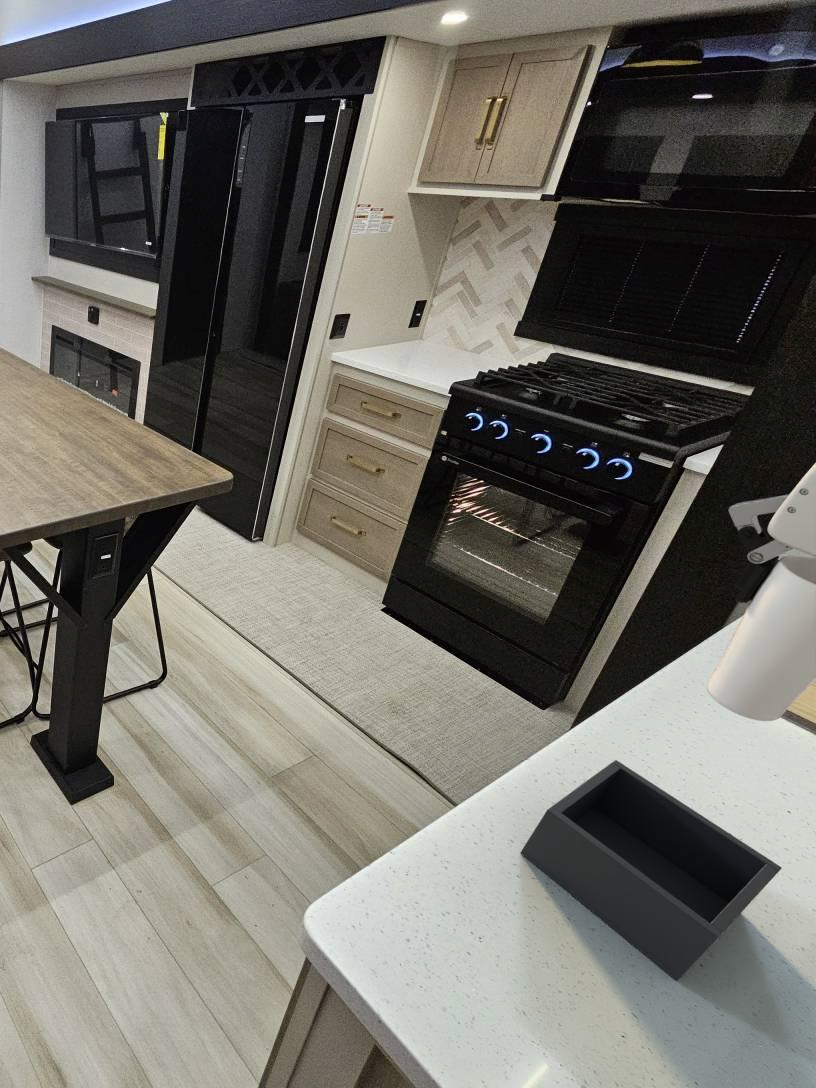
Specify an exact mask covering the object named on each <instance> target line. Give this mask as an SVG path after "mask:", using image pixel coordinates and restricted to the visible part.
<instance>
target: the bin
mask: <svg viewBox="0 0 816 1088" xmlns="http://www.w3.org/2000/svg"><path fill="white" fill-rule="evenodd" d="M520 855H522V856H523V857H524V858H525V859H526V860H528V861H529V862H530V863H531V864H532V865H534V866H535V867H536V868H538V870H540V871H541V872H542V873H543V874H545V875H546V876H547V877H549V879H551V880H552V881H553V882H554V883H556V884H557V885H558V886H560V887H561V888H562V889H563V890H564V891H565V892H566V893H568V894H569V895H570V896H571V897H573V898H574V899H576V900H577V902H579V903H581V905H583V906H584V907H585V908H586V909H587V910H588V911H590V912H591V913H592V914H594V915H595V916H596V917H597V918H598V919H600V920H601V921H602V922H603V923H604V924H606V925H607V926H608V927H609V928H611V929H612V930H613V931H614V932H615V933H617V934H618V935H619V936H621V937H622V938H623V939H624V940H626V941H627V942H628V943H629V944H630V945H631V946H633V947H634V948H635V949H636V950H637V951H639V952H640V953H641V954H642V955H644V957H646V958H647V959H649V960H650V961H651V962H652V963H653V964H655V965H656V966H657V967H658V968H660V969H661V970H662V971H663V972H664V973H666V974H667V975H668V976H669V977H670V978H672V979H673V980H674V981H675V982H678V981H679V980H680V979H681V978H682V977H683V975H685V974H686V973H687V971H688V970H690V968H691V967H692V966H693V965H694V964H695V963H696V962H697V961H698V960H699V959H700V957H701V956H703V954H704V953H705V952H706V951H707V950H708V949H709V948H710V947H711V946H712V945H713V944H714V943H715V941H717V940H718V939H719V938H720V936H721V935H722V934H723V933H725V931H726V930H727V929H728V928H729V927H730V926H731V925H732V923H733V922H734V921H735V920H736V919H737V918H738V917H739V915H741V913H743V912H744V910H745V909H746V908H747V907H748V906H749V905H750V904H751V903H752V902H753V900H755V898H756V897H757V896H758V895H759V894H760V893H761V892H762V891H763V890H764V889H765V887H766V886H767V885H768V884H769V883H770V882H771V881H772V880H773V879H774V877H776V875H778V873H779V872H780V871H781V870H782V866H780V865H779V864H778V863H775V862H774V861H773V860H772V859H770V858H768V857H766V855H763V854H762V853H760V852H759V851H757V850H756V849H754V848H753V847H751V846H750V845H748V844H746V843H745V842H744V841H742V840H741V839H739V838H737V837H736V836H734V835H733V834H731V833H730V832H728V831H726V830H725V829H723V828H722V827H721V826H719V825H717V824H716V823H714V822H713V821H711V820H710V819H708V818H706V816H705V817H704V816H703V815H702V814H701V813H699V812H698V811H696V810H694V809H693V808H691V807H689V806H688V805H686V804H685V803H683V802H682V801H680V800H679V799H677V798H676V797H674V796H673V795H671V794H670V793H668V792H666V791H664V789H662V788H661V787H659V786H657V785H655V784H654V783H653V782H651V781H649V780H648V779H646V778H645V777H643V776H642V775H640V774H639V773H637V772H636V771H634V770H632V769H631V768H630V767H628V766H627V765H625V764H624V763H622V762H620V761H618V760H617V759H615V760H613V761H612V762H610V763H609V764H607V765H606V766H605V767H603V768H601V770H599V771H597V773H595V774H594V775H593V776H591V777H590V778H589V779H587V780H586V781H584V782H583V783H581V784H580V785H579V786H578V787H575V789H573V790H572V791H570V793H568V794H567V795H565V796H564V797H562V798H561V799H560V800H558V801H557V802H556V803H554V804H553V805H552V806H550V807H549V808H548V809H546V810H545V813H544V814H543V816H542V817H541V819H540V821H539V822H538V823H537V825H536V826H535V828H534V830H533V831H532V833H531V835H530V836H529V838H528V840H527V841H526V842H525V844H524V845H523V848H522V849H521V851H520Z"/></svg>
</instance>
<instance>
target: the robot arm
mask: <svg viewBox="0 0 816 1088" xmlns="http://www.w3.org/2000/svg"><path fill="white" fill-rule="evenodd" d="M728 513H729V516H730V517H731V518H730V519H731V520H732V522H733V525H734V527H736V529H737V536H738V537H739V539H740V541H741V543H742V545H743V547H744V549H745V551H746V552H747V556H746V557H747V560H748V561H749V562H748V564H747V565H746V567H745V568H744V570H743V571H742V573H741V574H740V576H739V577H738V579H737V580H736V582H735V584H734V585H733V586H734V588H737V589H738V590H739V589H740V590H739V592H738V594H737V595H736V597H735V598H734V601H735V602H738V603H740V604H743V603H744V604H747V603H750V602H751V600H752V598H753V596H754V595H755V593H756V591H757V590H758V588H759V587H760V585H761V584H762V582H763V581H764V579H765V578H766V577H767V575H768V574H769V573H770V571H771V570H772V569H773V567H774V566H775V565H776V564H777V562H778V561H779V560H780V559H779V558H780V556H781V555H783V554H785V553H788V552H789V551H792V550H796V551H799V552H802V553H804V554H807V555H810V556H811V557H813V558H816V462H815V463H814V464H813V465H812V466H811V467H810V469H809V470H808V471H807V472H806V473H805V474H804V476H803V477H801V479H800V480H799V482H798V483H797V484H796V486H795V487H794V488H793V489H792V491H790V493H789V494H788V493H787V494H783V495H778V496H772V497H766V498H758V499H754V500H747V501H741V502H738V503H735V504H733V505H731V506H729V508H728ZM766 514H767V515H768V514H773V516H772V518H771V519H770V521H769V522H768V525H767V533H768V534H769V536H770V537H772V540H770V538H769V536H768V535H767V533H766V531H765V529H764V528H763V527H762V526H761V525H760V522H759V519H758V516H761V515H766Z"/></svg>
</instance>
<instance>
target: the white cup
mask: <svg viewBox="0 0 816 1088" xmlns="http://www.w3.org/2000/svg"><path fill="white" fill-rule="evenodd" d="M778 560H779V561H778V562H777V564H776V565H775V566H774V567H773V569H772V570H771V571H770V573H769V574H768V575H767V577H766V578H765V579H764V581H763V582H762V584H761V585H760V587H759V588H758V590H757V591H756V593H755V595H754V596H753V598H752V600H750V601H749V604H747V605H748V606H747V607H746V610H745V611H744V614H743V615H742V617H741V619H740V620H739V623H738V625H737V627H736V629H735V631H734V633H733V634H732V637H731V639H730V641H729V643H728V644H727V647H726V649H725V650H724V652H723V654H722V656H721V658H720V660H719V662H718V664H717V665H716V668H715V669H714V671H713V672H712V674H711V675H710V676H709V678H708V679H707V682H706V684H705V685H706V686H705V688H706V691H707V693H708V695H709V696H710V697H711V698H712V700H714V701H715V702H716V703H717V704H718V705H720V706H721V707H723V708H724V709H726V710H727V711H730V712H732V713H734V714H736V715H738V716H741V717H743V718H746V719H750V720H753V721H757V722H773V721H776V720H779V719H780V718H782V716H783V715H784V714H785V713H786V711H787V710H788V709H789V708H790V706H791V705H792V704H793V703H794V702H795V701H796V700H797V699H798V698H799V697H800V696H801V695H802V694H803V693H804V692H806V690H807V689H809V687H810V686H811V685H812V684H813V683H814V682H815V681H816V557H813V556H804V555H786V556H783V557H781V558H780V559H778Z"/></svg>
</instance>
